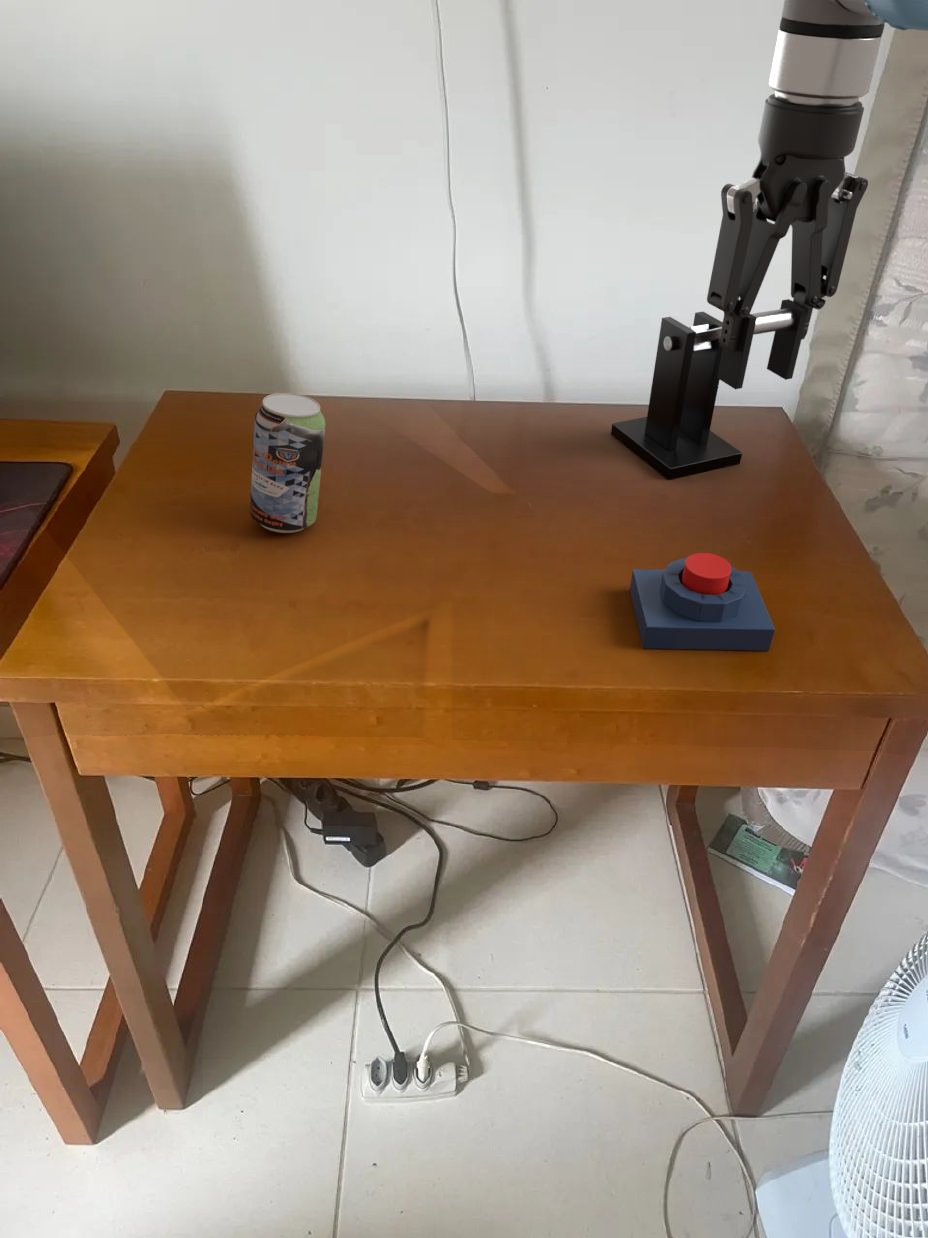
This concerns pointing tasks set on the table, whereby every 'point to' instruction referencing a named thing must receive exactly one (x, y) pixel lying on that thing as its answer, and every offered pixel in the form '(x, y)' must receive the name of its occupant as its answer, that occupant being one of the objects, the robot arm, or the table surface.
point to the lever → (764, 324)
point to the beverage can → (287, 462)
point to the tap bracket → (680, 406)
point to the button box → (699, 612)
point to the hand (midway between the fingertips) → (754, 377)
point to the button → (706, 574)
